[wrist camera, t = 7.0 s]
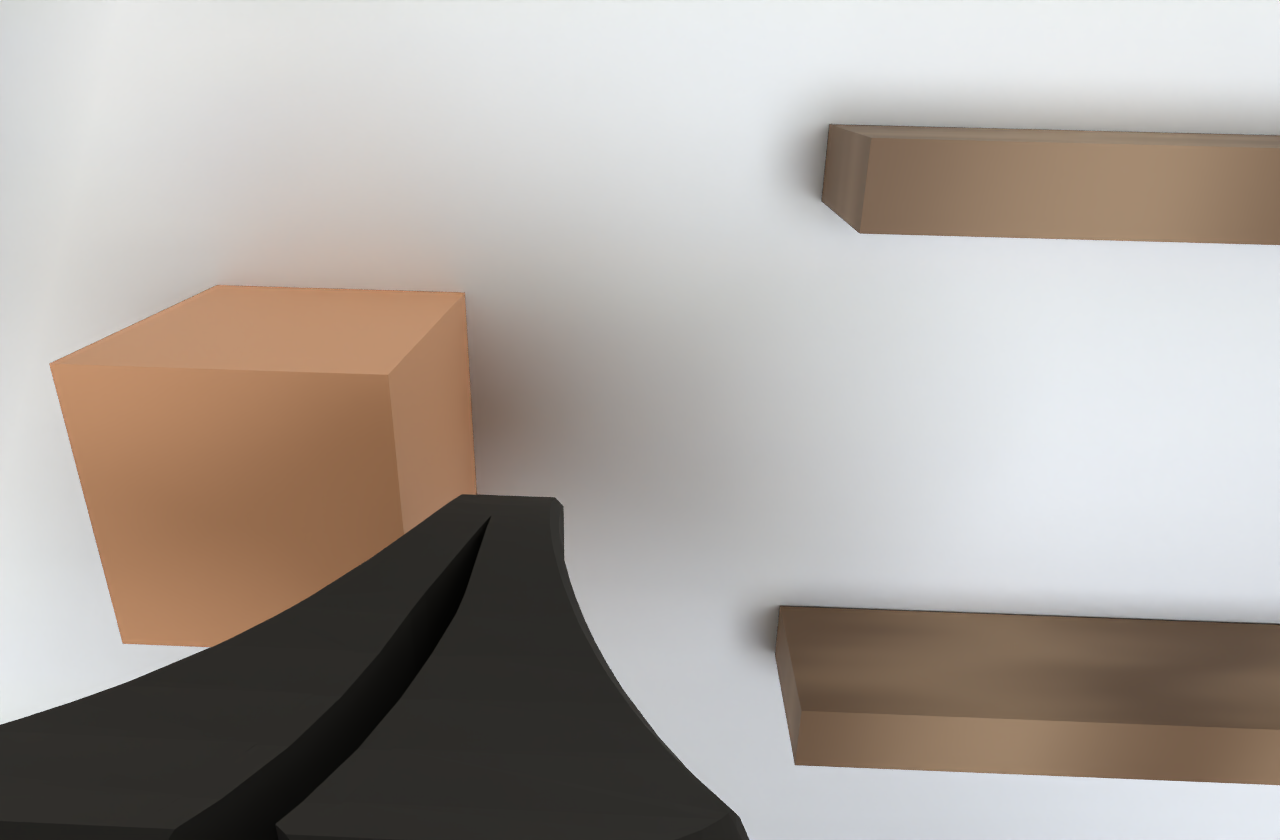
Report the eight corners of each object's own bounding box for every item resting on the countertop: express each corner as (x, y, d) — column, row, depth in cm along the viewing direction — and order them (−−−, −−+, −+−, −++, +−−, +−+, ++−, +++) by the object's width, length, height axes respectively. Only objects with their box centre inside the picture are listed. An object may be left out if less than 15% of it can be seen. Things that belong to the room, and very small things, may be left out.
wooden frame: (1702, 145, 13) (1980, 166, 10) (1442, 679, 17) (1592, 798, 14) (829, 124, 13) (871, 138, 11) (774, 654, 17) (794, 765, 15)
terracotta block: (465, 291, 15) (388, 374, 11) (478, 511, 16) (415, 655, 12) (219, 284, 15) (49, 364, 11) (257, 503, 17) (123, 643, 12)
